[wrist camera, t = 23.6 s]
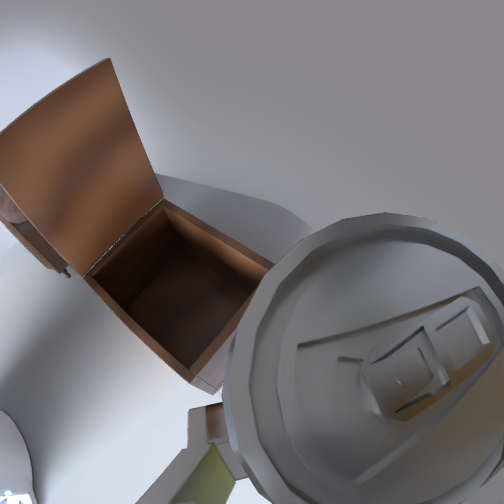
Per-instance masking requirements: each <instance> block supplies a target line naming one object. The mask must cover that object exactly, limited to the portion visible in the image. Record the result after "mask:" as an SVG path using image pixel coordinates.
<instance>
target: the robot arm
mask: <svg viewBox="0 0 504 504" xmlns="http://www.w3.org/2000/svg"><path fill="white" fill-rule="evenodd" d="M503 444H504V432H503V434H502V437H501V439H500V441H499V443H498V445H497V447H496V448H495V449H494V450H493V452H492V453H491V454H490V455H489V456H488V458H487V459H486V460H485V461H484V462H483V463H482V464H481V466H480V467H479V468H478V469H477V470H476V471H475V472H474V473H473V474H472V475H471V476H470V478H468V479H467V480H465V481H463V482H462V483H460V484H459V485H457V486H455V487H454V488H452V489H451V490H449V491H447V492H445V493H444V494H442V495H440V496H438V497H437V498H435V499H432V500H428V501H423V502H419V503H414V504H459V503H461V502H462V501H463V502H462V503H461V504H504V467H503V468H502V469H501V470H500V471H499V472H498V473H497V474H496V475H495V476H493V477H492V478H491V479H490V480H489V481H488V482H487V483H486V484H484V485H483V486H482V484H483V483H484V482H485V480H486V479H487V477H488V476H489V475H490V473H491V472H492V470H493V469H494V468H495V466H496V465H497V463H498V462H499V460H500V459H501V455H502V450H503ZM244 478H248V475H247V474H246V472H245V471H244V469H243V467H242V466H241V464H240V462H239V461H238V459H237V457H236V456H235V454H234V452H233V450H232V449H231V446H230V440H229V435H228V429H227V424H226V418H225V412H224V407H223V402H220V403H215V404H211V405H206V406H202V407H198V408H193V409H189V411H188V423H187V448H186V449H182V450H181V451H180V453H179V454H178V455H177V456H176V457H175V459H174V460H173V461H172V462H171V463H170V465H169V466H168V467H167V468H166V469H165V470H164V472H163V473H162V474H161V475H160V476H159V477H158V479H157V480H156V481H155V482H154V483H153V484H152V485H151V487H150V488H149V489H148V490H147V491H146V492H145V493H144V495H143V496H142V497H141V498H140V499H139V500H138V501H137V502H136V503H135V504H226V502H227V500H228V498H229V495H230V493H231V491H232V489H233V487H234V485H235V483H236V482H235V481H236V480H241V479H244ZM481 486H482V487H481ZM480 487H481V488H480ZM479 488H480V489H479ZM464 500H465V501H464ZM0 504H38V503H37V500H36V497H35V494H34V491H33V477H32V466H31V461H30V457H29V453H28V450H27V447H26V444H25V442H24V439H23V437H22V435H21V433H20V431H19V429H18V428H17V426H16V425H15V423H14V422H13V421H12V419H11V418H10V417H9V416H8V415H7V414H5V413H4V412H3V411H1V410H0Z"/></svg>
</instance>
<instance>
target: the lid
mask: <svg viewBox="0 0 504 504" xmlns="http://www.w3.org/2000/svg"><path fill="white" fill-rule="evenodd" d="M0 184H1V185H2V187H3V188H4V190H5V191H6V192H7V193H8V195H9V196H10V197H11V199H12V200H13V201H14V203H15V204H16V205H17V206H18V208H19V209H20V210H21V211H22V213H23V214H24V215H25V216H26V217H27V219H28V220H29V221H30V222H31V223H32V225H33V226H34V227H35V228H36V229H37V230H38V231H39V233H40V234H41V235H42V236H43V237H44V238H45V239H46V241H47V242H48V243H49V244H50V245H51V246H52V247H53V248H54V249H55V250H56V251H57V253H58V254H59V255H60V256H61V257H62V258H63V259H64V260H65V261H66V262H67V263H68V264H69V265H70V266H71V267H72V268H73V269H74V270H75V271H76V272H77V273H78V274H79V275H80V276H81V277H83V276H84V275H85V274H86V272H87V271H88V270H89V269H90V268H91V267H92V266H93V265H94V264H95V263H96V262H97V261H98V260H99V259H100V258H101V257H102V256H103V255H104V253H105V252H106V251H107V250H108V249H109V248H110V247H111V246H112V245H113V244H114V243H115V242H116V241H117V240H118V239H119V238H120V237H121V236H122V235H123V234H124V233H125V232H126V231H127V230H128V229H130V228H131V227H132V226H133V225H134V224H135V223H136V222H137V221H138V220H139V219H140V218H141V217H142V216H143V215H144V214H145V213H146V212H147V211H149V210H150V209H151V208H152V207H153V206H154V205H155V204H156V203H157V202H158V201H159V200H161V199H162V198H163V197H164V194H163V192H162V190H161V187H160V185H159V183H158V181H157V178H156V176H155V173H154V171H153V169H152V166H151V164H150V162H149V159H148V157H147V154H146V152H145V150H144V147H143V145H142V142H141V139H140V137H139V135H138V132H137V129H136V127H135V124H134V122H133V119H132V117H131V114H130V111H129V109H128V106H127V103H126V101H125V98H124V96H123V93H122V90H121V87H120V84H119V82H118V79H117V76H116V73H115V70H114V67H113V65H112V62H111V59H110V58H105V59H104V60H102V61H100V62H98V63H96V64H95V65H93V66H91V67H89V68H88V69H86V70H84V71H83V72H81V73H79V74H78V75H76V76H74V77H73V78H71V79H70V80H68V81H67V82H65V83H64V84H62V85H60V86H59V87H58V88H56V89H55V90H53V91H52V92H50V93H49V94H47V95H46V96H45V97H43V98H42V99H41V100H40V101H38V102H36V103H35V104H34V105H33V106H31V107H30V108H29V109H27V110H26V111H25V112H24V113H22V114H21V115H20V116H19V117H17V118H16V119H15V120H14V121H13V122H11V123H10V124H9V125H8V126H7V127H6V128H5V129H3V130H2V131H1V132H0Z"/></svg>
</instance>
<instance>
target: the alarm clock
mask: <svg viewBox="0 0 504 504" xmlns="http://www.w3.org/2000/svg"><path fill="white" fill-rule="evenodd" d="M0 221H1V222H2V223H3V224H4V225H5V226H6V227H7V229H8V230H9V231H10V232H11V233H12V234H13V235H14V236H15V237H16V238H17V239H18V240H19V241H20V242H21V243H22V244H23V245H24V246H25V248H26V249H27V250H28V251H30V252H31V253H32V254H33V255H34V256H35V257H36V258H37V259H38V260H39V261H40V262H41V263H42V264H43V265H44V266H45V267H47V268H48V269H54V270H55V271H56V272H57V273H59V274H61V272H63V273H64V274H65V275H67V278H70V277H71V275H70V274H68V272H67V270H66V269H65V268H66V267H67V266H68V265H69V264H68V263H67V262H66V261H65V260H64V259H63V258H62V257H61V256H60V255H59V254H58V253H57V251H56V250H55V249H54V248H53V247H52V246H51V245H50V244H49V243H48V242H47V241H46V239H45V238H44V237H43V236H42V235H41V234H40V233H39V231H38V230H37V229H36V228H35V227H34V226H33V225H32V223H31V222H30V221H29V220H28V219H27V217H26V216H25V215H24V214H23V213H22V211H21V210H20V209H19V208H18V206H17V205H16V204H15V203H14V201H13V200H12V199H11V197H10V196H9V195H8V193H7V192H6V191H5V190H4V188H3V187H2V185H1V184H0Z"/></svg>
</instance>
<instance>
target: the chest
mask: <svg viewBox="0 0 504 504" xmlns="http://www.w3.org/2000/svg"><path fill="white" fill-rule="evenodd" d="M274 266H275V264H273V263H272V262H270V261H268V260H267V259H265V258H263V257H262V256H260V255H258V254H257V253H255V252H253V251H252V250H250V249H248V248H247V247H245V246H243V245H242V244H240V243H238V242H236V241H235V240H233V239H231V238H230V237H228V236H226V235H225V234H223V233H221V232H220V231H218V230H216V229H215V228H213V227H211V226H210V225H208V224H206V223H205V222H203V221H201V220H199V219H198V218H196V217H194V216H193V215H191V214H189V213H188V212H186V211H184V210H183V209H181V208H179V207H178V206H176V205H174V204H173V203H171V202H169V201H167V200H166V199H164V198H163V199H162V200H161V201H160V202H159V203H158V204H157V205H156V206H154V207H153V208H152V209H151V210H150V211H149V212H148V213H147V214H146V215H145V216H144V217H143V218H142V219H141V220H139V221H138V222H137V223H136V224H135V225H134V226H133V227H132V228H131V229H130V230H129V231H128V232H127V233H126V234H125V235H124V236H123V237H122V238H121V239H120V240H119V241H118V242H117V243H116V244H115V245H114V246H113V247H112V248H111V249H110V250H109V251H108V252H107V253H106V254H105V255H104V256H103V257H102V258H101V259H100V260H99V261H98V262H97V263H96V265H95V266H94V267H93V268H92V269H91V270H90V271H89V273H87V274H86V275H85V276H84V277H83V279H84V280H85V281H86V282H87V284H88V285H89V286H90V287H91V288H92V289H93V290H94V292H95V293H96V294H97V295H98V296H99V297H100V298H101V299H102V301H103V302H104V303H105V304H106V305H107V306H108V307H109V308H110V309H111V310H112V311H113V312H114V313H115V315H116V316H117V317H118V318H119V319H120V320H121V321H122V322H123V323H124V324H125V325H126V326H127V327H128V328H129V329H130V330H131V331H132V332H133V333H134V334H135V335H136V336H137V337H138V338H139V339H140V340H141V341H142V342H143V343H144V344H145V345H146V346H148V347H149V348H150V349H151V350H152V351H153V352H154V353H155V354H156V355H157V356H158V357H159V358H160V359H162V360H163V361H164V362H165V363H166V364H167V365H168V366H169V367H170V368H172V369H173V370H174V371H175V372H176V373H177V374H178V375H180V376H181V377H182V378H183V379H184V380H185V381H187V382H188V383H189V384H191V385H193V386H195V387H197V388H199V389H201V390H203V391H205V392H207V393H209V394H211V395H214V394H215V392H216V391H217V390H218V389H219V388H220V386H221V385H222V384H223V383H224V377H225V372H226V366H227V360H228V354H229V348H230V343H231V341H232V339H233V337H234V335H235V333H236V331H237V327H238V324H239V322H240V320H241V319H242V317H243V315H244V313H245V311H246V309H247V307H248V305H249V304H250V302H251V300H252V298H253V296H254V294H255V292H256V290H257V288H258V286H259V285H260V283H261V281H262V279H263V277H264V275H265V274H266V273H267V272H268V271H269V270H270V269H271V268H272V267H274Z"/></svg>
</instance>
